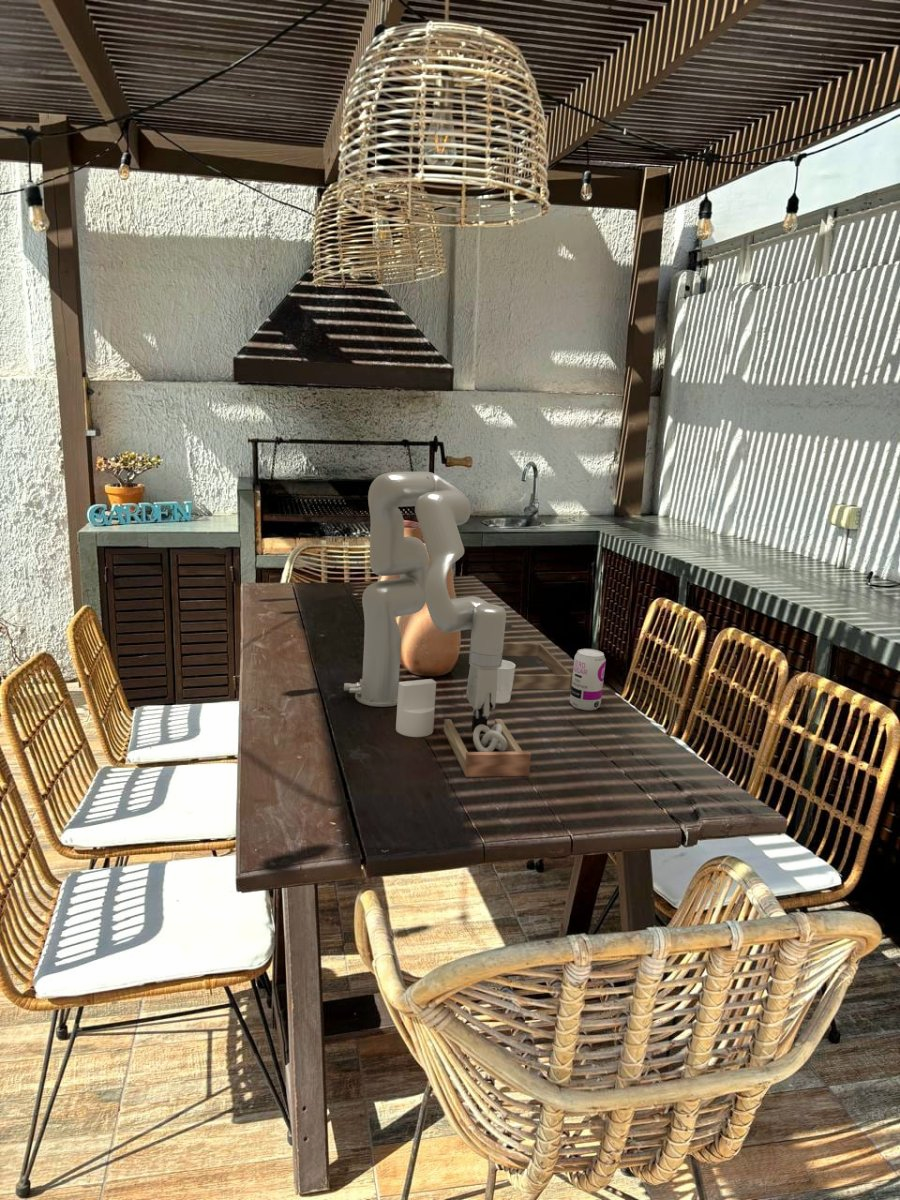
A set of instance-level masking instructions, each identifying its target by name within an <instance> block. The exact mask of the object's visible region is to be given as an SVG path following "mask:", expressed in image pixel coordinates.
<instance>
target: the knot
mask: <svg viewBox="0 0 900 1200" xmlns="http://www.w3.org/2000/svg"><path fill="white" fill-rule="evenodd" d="M481 731H484V732H485V734H483V736H482V738H480V735H481V734H480V732H481ZM501 732H502V726H501V725H500V724H496V725H493V726H492V727H491V728H490V727H489V726H488V725H487V726H486V725H483V724H480V725H478V726H477V727H476V728H475V729H474V732H472V741H473V745H474V747H475V749H476V750H477V752H494V750H495V749H496V750H497V751H498V752H506V749H507V742H506V740H505V738H504V737H503V735H502V734H501ZM480 739H481V740H480ZM488 743H489V745H488V746H487V744H488ZM486 746H487V747H486Z"/></svg>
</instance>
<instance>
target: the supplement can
mask: <svg viewBox="0 0 900 1200" xmlns="http://www.w3.org/2000/svg"><path fill="white" fill-rule="evenodd" d="M573 658H574V659H573V669H572V675H573V676H572V685H571V689H570V694H569V695H570V697H569V703H570V704H571V706H572V707H573V708H575V709H578V710H582V711H595V710H597V709H598V708H600V707H601V704H602V694H603V686H604V678H605V670H606V663H607V659H606V657H605V654H604V652H602V651H600V650H598V649H594V648H581V649H578V650H577V651H576V653H575V655H574V657H573Z"/></svg>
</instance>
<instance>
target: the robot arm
mask: <svg viewBox="0 0 900 1200" xmlns="http://www.w3.org/2000/svg"><path fill="white" fill-rule="evenodd" d="M367 494H368V495H367V500H368V501H367V502H368V508H369V509H368V510H369V517H370V518H369V519H370V527H369V528H370V530H369V532H370V534H369V565H370V566H369V567H370V569H371V571H372V572H373V573H374V574H375V575H377V576H381V577H388V576H389V577H391V576H399V578H397V579H393V578H392V579H386V580H380V581H375V582H373V583H371V584H369V585H367V587H366V588H365V589H364V591H363V593H362V598H361V599H362V600H361V601H362V609H363V617H364V634H363V635H364V638H363V660H362V676H361V678H360V679H359V681H358V682H355V683H351V682H350V683H349V682H344V683H343V691H348V692H349V694H352V693H353V694H355V695H354V697H355V700H356V701H357V702H359V703H360V704H362V705H365V706H366V705H367V706H369V707H375V708H376V707H377V708H387V707H394V706H397V704H398V688H399V682H400V666H401V654H402V653H401V652H402V651H401V650H402V649H401V648H402V630H401V628H400V626H399V624H398V622H397V619H396V618H397V617H400V616H406V615H412V614H413V615H414V614H416V613H418V612H420V611H421V610H423V608H424V606H425V604H426V607H427V611H428V613H429V616H430V620H431V621H432V623H433V625H434V627H435V628H437V629H438V630H439V631H440V632H441V633H447V634H448V633H449V634H450V633H456V632H460V631H466V630H467V631H468V630H471V633H470V634H471V635H470V645H469V646H470V647H469V655H468V656H469V657H468V664H469V665H470V666H469V672H468V677H467V683H466V684H467V685H466V694H465V695H466V699H467V701H468V702H469V704H470V705H471V707H472V714H473V715H472V718H471V719H472V721H471V732H472V733H473V732H474V729H475V728H476V727H477V726H478V725H480V724H483V725H486V726H487V727H488V718H489V717H490V710H492V711H493V710H494V709H495V708H496V704H497V703H496V692H497V668H500V667H501V664H502V660H503V656H502V654H503V644H504V643H505V642H504V641H505V634H506V633H505V631H506V623H507V612H506V609H505V608H504V607H503V606H501V605H498V604H493V603H490V602H488V601H486V600H485V599H482V598H481V597H479V596H473V595H471V596H464V597H456V598H451V597H450V594H449V590H448V587H447V584H448V583H447V577H448V573H449V571H450V568H452V566H453V565H454V563H456V562H457V561H459V560H460V558H462V557H463V556H464V554H465V547H464V544H463V541H462V538H461V535H460V531H459V529H458V526H461V525H463V524H465V523H467V522H468V520H469V519H470V515H471V512H472V511H471V510H472V509H471V505H470V504H471V503H470V501H469V499H468V497H467V496H466V495H465V493H464V492H463V491H462V490H460V489H459V488H457V487H456V486H455V485H453V484H451V483H450V482H449V481H448V480H445V479H444V478H443V477H441V476H439V475H438V474H436V473H433V472H432V471H431V472H430V471H421V470H420V471H392V472H391V471H390V472H385V473H383V474H380V475H378V476H376V478H374V480H373V481H372V482H371V484H370V486H369V489H368V493H367ZM399 507H414V512H415V516H416V519H417V523H418V525H419V529H420V532H421V535H422V536H421V537H422V538H423V541H422V540H421V539H420V538H418V537H415V536H409V535H408V536H405V520H404V517H403V514H402V511H401V510H400V509H399ZM484 734H485V732H484V731H481V732H480V734H479V735H484Z"/></svg>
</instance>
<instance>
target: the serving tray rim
mask: <svg viewBox="0 0 900 1200" xmlns="http://www.w3.org/2000/svg"><path fill="white" fill-rule="evenodd" d="M502 657H538V658H539V659H540V661H542V663H543V664H544V665H545V666H546V667H547V668H548V669H549V670H550V671H551V672H552V673H553V674H514V680H513V687H512V690H571V685H572V676H573V673H572V672H570V670H569V669H567V668H566V667H565V665H564V664H562V662H560V660H559V659H558V658H557V657H555V656H554V655H553V654H552V652H550V651H549V650H548V648H547V647H545V646H544V645H543V644H542V643H540V642H538V643H537V642H534V643H533V642H531V643H529V642H528V643H527V642H504V644H503V654H502Z"/></svg>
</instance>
